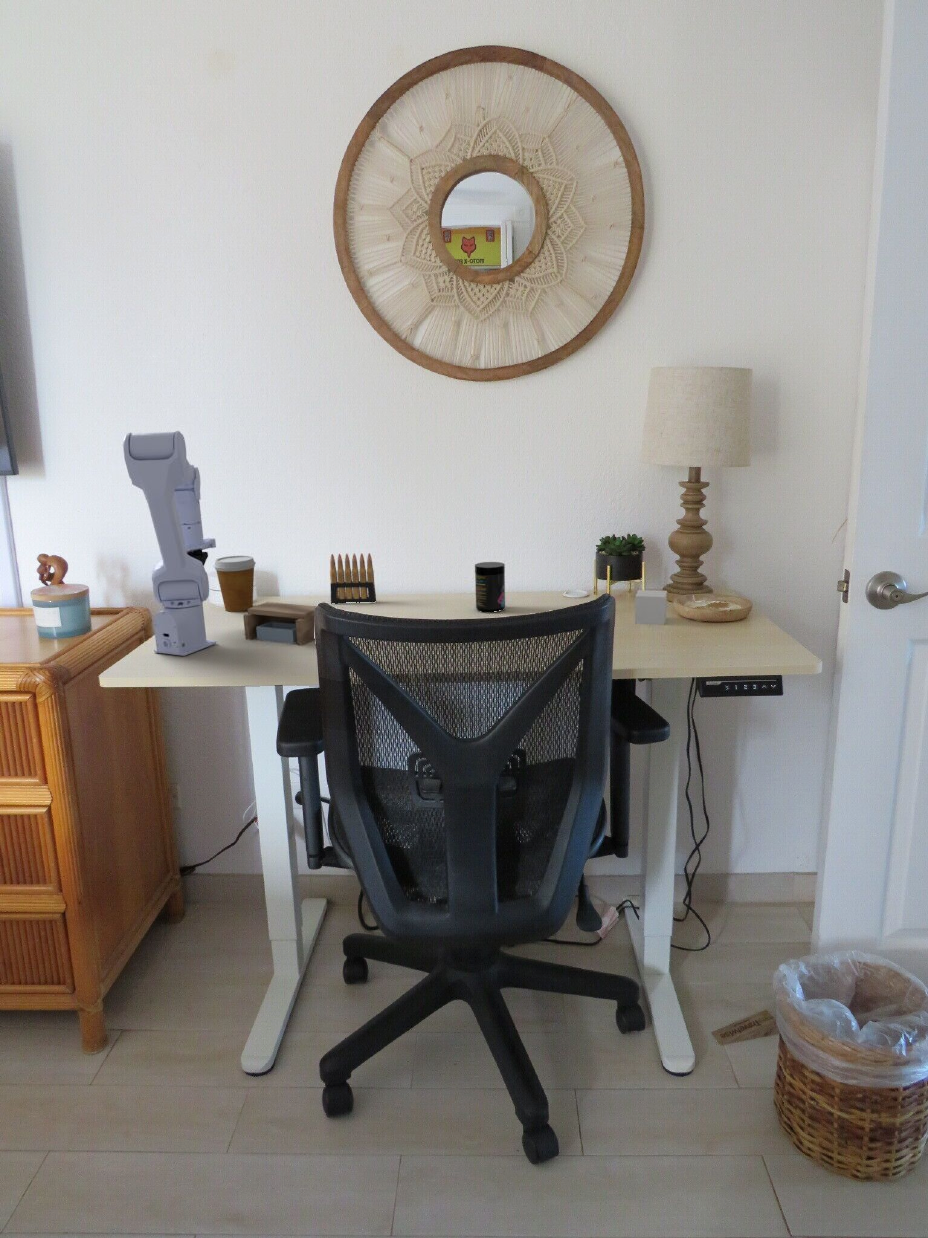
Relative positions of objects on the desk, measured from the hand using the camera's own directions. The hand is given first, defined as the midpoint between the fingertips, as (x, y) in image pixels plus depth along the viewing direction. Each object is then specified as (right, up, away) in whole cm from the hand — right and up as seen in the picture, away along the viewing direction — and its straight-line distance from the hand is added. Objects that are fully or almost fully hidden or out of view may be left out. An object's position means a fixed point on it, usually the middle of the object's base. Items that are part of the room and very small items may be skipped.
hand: (194, 586), depth 183 cm
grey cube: (+97, -8, -2) cm, 97 cm away
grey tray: (+20, -11, -7) cm, 24 cm away
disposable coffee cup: (+4, -5, +20) cm, 21 cm away
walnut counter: (+21, -11, -6) cm, 24 cm away
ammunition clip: (+31, -3, +22) cm, 38 cm away
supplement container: (+64, -5, +12) cm, 65 cm away
